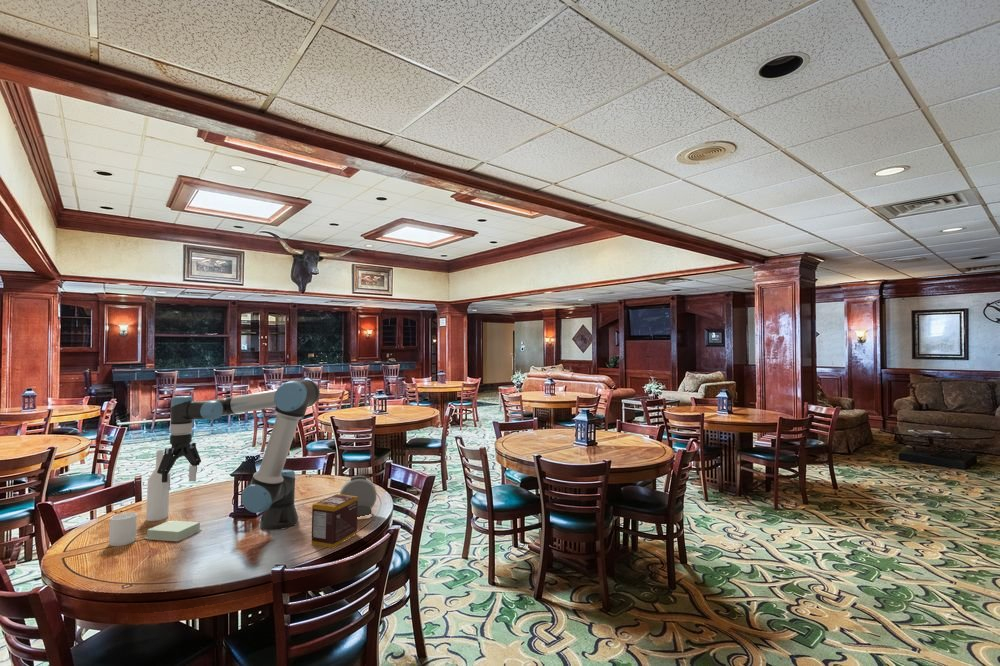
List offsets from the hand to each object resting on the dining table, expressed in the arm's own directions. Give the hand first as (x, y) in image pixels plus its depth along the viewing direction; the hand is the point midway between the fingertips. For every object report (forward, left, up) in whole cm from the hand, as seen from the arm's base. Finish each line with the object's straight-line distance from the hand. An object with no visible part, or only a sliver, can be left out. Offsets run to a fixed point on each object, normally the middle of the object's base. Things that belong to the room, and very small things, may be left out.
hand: (179, 485), depth 197 cm
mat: (+1, +2, -19) cm, 19 cm away
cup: (+15, +11, -20) cm, 27 cm away
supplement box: (-66, -4, -20) cm, 69 cm away
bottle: (+24, -14, -20) cm, 34 cm away
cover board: (+1, +2, -19) cm, 19 cm away
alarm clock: (-63, -31, -20) cm, 73 cm away
